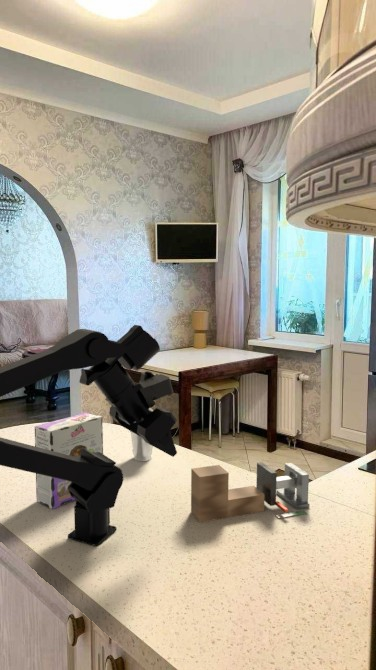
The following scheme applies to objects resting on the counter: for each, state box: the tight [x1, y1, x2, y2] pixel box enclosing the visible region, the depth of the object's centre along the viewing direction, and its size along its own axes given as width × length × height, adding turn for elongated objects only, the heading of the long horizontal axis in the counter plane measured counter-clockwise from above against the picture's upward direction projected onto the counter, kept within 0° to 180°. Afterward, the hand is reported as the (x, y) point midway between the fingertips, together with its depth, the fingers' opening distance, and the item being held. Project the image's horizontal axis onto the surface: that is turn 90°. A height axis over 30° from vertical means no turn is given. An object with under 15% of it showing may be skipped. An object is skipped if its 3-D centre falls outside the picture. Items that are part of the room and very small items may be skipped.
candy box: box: [34, 412, 104, 510], centre depth 107 cm, size 14×6×16 cm, turn 141°
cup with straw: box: [129, 407, 154, 462], centre depth 129 cm, size 8×9×20 cm
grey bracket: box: [255, 461, 297, 514], centre depth 103 cm, size 8×10×7 cm
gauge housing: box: [275, 462, 310, 520], centre depth 103 cm, size 8×10×7 cm
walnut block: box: [190, 464, 265, 523], centre depth 100 cm, size 14×4×9 cm, turn 110°
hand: (164, 447), depth 97 cm, fingers open, 9 cm apart
